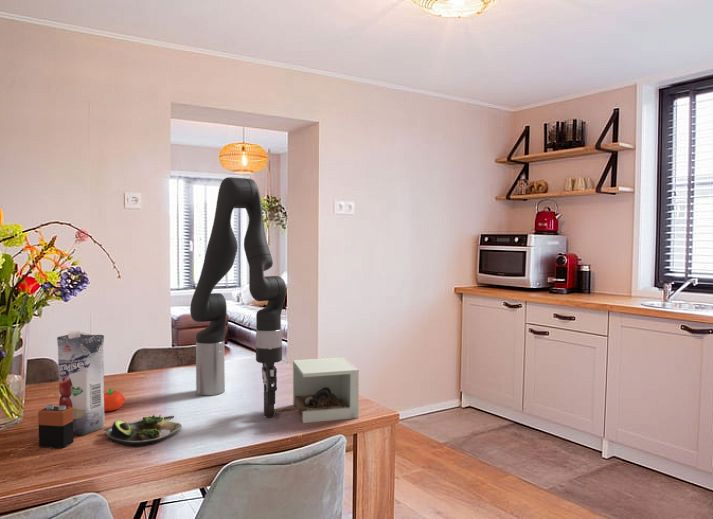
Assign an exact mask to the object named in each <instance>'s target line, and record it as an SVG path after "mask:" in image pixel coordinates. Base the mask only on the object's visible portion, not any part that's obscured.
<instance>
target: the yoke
mask: <svg viewBox="0 0 713 519" xmlns="http://www.w3.org/2000/svg"><path fill="white" fill-rule="evenodd" d="M309 397H312V398H313V399H315V397H316V395H306V396H296V406H294V407H287V408H283V407H282V408H275V404H274V405H268V403H267V391H264V390H263V416H264V418H273V417H274V416H275V414H276V413H286V412H299V415H300V416H301V417H302V411H310V410H322V409H333V408H345V406H344V405H343V404H342V403H341V402H340V401H339V399H338V398H337V397H336V396H335V395H334V393H331V395H330V397H329V398H327V399H326V402H325V403H324V404H323V405H331V406H324V407H321V408H311V407H313V406H312V405H306V404H305V400H306V399H307V398H309ZM324 401H325V400H323V401H322V403H323V402H324ZM307 407H310V408H307Z"/></svg>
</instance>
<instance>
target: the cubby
mask: <svg viewBox="0 0 713 519" xmlns="http://www.w3.org/2000/svg"><path fill="white" fill-rule="evenodd" d="M359 377H360V376H359V369H358V368H357V367H356V366H355V365H353V364H352V363H351V362H350V361H348V360H347V359H346V358H345V357H344V356H343V357H326V358H324V357H322V358H308V359H307V358H306V359H294V360H292V405H293V407H296V396H306V395H316V393H317V392H318V391H319V390H321V389H322V388H324V387H327V388H329V389H330V390H331V393H334V395H335V396H336V397H337V398H338V399H339V401H340V402H341V403H342V404H343V405H344V406H345V408H333V409H322V410H310V411H302V416H301V418H302V419H301V420H302V423H303V424H306V423H319V422H327V421H340V420H350V419H359V408H360V407H359V406H360V405H359V402H360V400H359V399H360V398H359V394H360V392H359V389H360V388H359V385H360V384H359V381H360V380H359Z"/></svg>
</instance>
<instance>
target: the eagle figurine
mask: <svg viewBox="0 0 713 519" xmlns="http://www.w3.org/2000/svg"><path fill="white" fill-rule="evenodd" d="M330 395H331V390H330V389H329V388H327V387H324V388H322V389H321V390H319V391H318V392H317V393H316V397H315V399H313V398H312V397H309V398H307V399H306V400H305V404H306V405H312V406H310V408H321V407H326V404H324V403H325V402H326V399H327V398H329V397H330ZM323 400H325V401H324V402H323V403H322V401H323ZM323 404H324V405H323Z"/></svg>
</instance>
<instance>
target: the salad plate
mask: <svg viewBox="0 0 713 519" xmlns="http://www.w3.org/2000/svg"><path fill="white" fill-rule="evenodd" d="M174 418H175V415H169V416H163V417H162V414H159V415H158V416H155V415H154V414H153V415H152V416H151V415H149V416H143V417H142V418H140V419H137V420H133V421H131V422H126V421H124V420H120V419H115V420H114V422H113V423H112V426H109V427H105V428H103V431H105V432H106V434H105V436H106V439H108V440H109V441H110V442H112V443H114V444H117V445H119V446H124V447H133V448H134V447H136V448H139V447H146V446H151V445H154V444H156V443H157V444H158V443H160V442H162V441H164V440H166V439H168V438H171V437H173V436H174V435H175V434H177V433H178V432H180V431H181V430H182V429H183V425H182V423H180V422H173V421H171V420H172V419H174ZM164 430H165V431H169V433H168V434H165V435H163V433H162V431H164ZM162 435H163V436H162Z"/></svg>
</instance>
